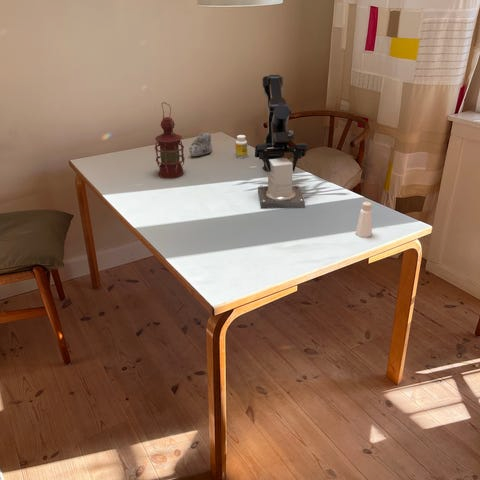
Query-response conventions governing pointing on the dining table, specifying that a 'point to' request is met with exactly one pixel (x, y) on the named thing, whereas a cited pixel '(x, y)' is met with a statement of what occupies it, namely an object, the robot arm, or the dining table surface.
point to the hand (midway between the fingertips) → (281, 171)
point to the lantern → (169, 150)
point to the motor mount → (281, 199)
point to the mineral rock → (201, 145)
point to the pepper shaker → (365, 221)
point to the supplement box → (280, 177)
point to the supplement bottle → (241, 146)
